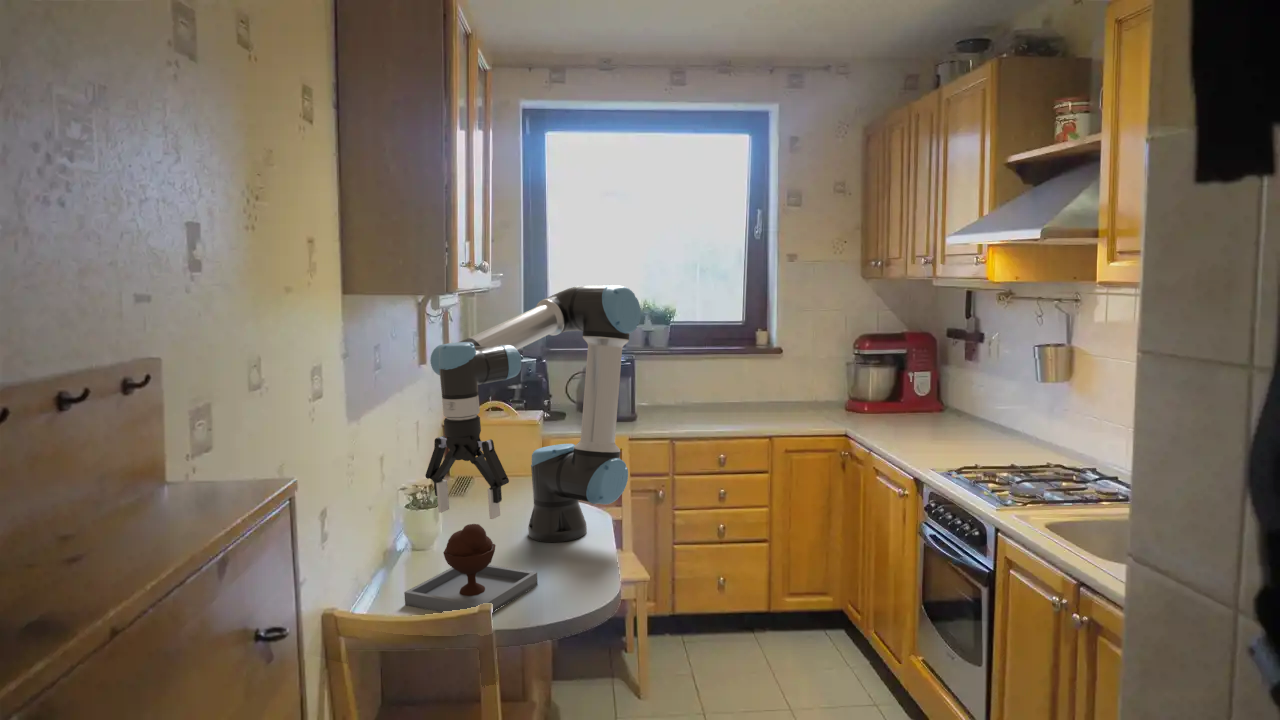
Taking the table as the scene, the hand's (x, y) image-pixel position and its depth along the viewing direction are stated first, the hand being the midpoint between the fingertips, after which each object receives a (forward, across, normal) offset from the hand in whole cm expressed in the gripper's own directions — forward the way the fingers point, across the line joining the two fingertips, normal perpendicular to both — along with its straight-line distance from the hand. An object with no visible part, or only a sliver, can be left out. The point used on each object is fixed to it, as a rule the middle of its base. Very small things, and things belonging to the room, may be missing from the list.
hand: (469, 514), depth 186 cm
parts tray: (+18, 0, -1) cm, 18 cm away
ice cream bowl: (+17, 0, -1) cm, 17 cm away
